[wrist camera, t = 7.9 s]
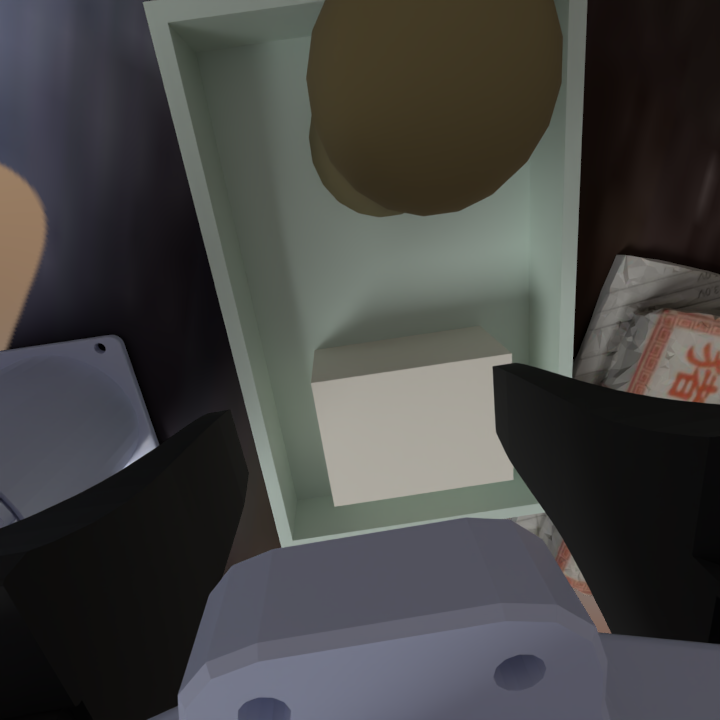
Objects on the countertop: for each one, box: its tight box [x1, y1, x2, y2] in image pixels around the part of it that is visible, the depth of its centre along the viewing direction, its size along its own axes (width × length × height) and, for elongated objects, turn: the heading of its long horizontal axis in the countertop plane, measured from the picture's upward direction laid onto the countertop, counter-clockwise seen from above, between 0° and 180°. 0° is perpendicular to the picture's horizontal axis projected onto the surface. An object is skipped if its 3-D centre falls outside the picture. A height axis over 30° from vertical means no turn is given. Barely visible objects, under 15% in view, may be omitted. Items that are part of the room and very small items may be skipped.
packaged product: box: [511, 255, 720, 596], centre depth 23 cm, size 18×5×10 cm
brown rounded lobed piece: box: [306, 0, 563, 217], centre depth 13 cm, size 6×6×11 cm
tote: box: [143, 0, 587, 548], centre depth 19 cm, size 14×22×4 cm, turn 8°
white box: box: [311, 326, 513, 507], centre depth 20 cm, size 8×6×4 cm
